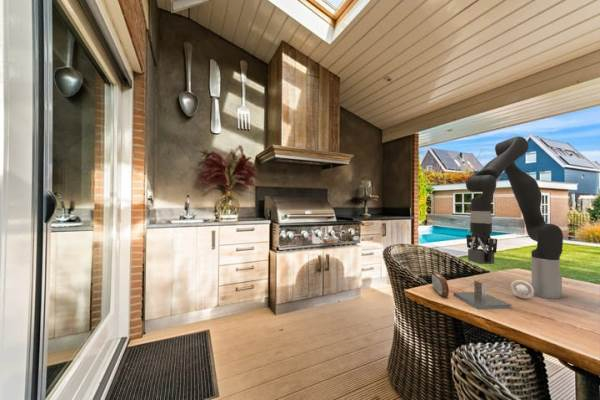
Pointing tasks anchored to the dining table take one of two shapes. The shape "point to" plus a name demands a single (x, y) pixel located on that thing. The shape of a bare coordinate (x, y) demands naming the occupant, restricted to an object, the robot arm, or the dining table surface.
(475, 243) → the robot arm
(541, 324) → the dining table surface
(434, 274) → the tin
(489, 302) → the shaft base
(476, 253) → the dark grey open box
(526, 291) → the ring around a ball
